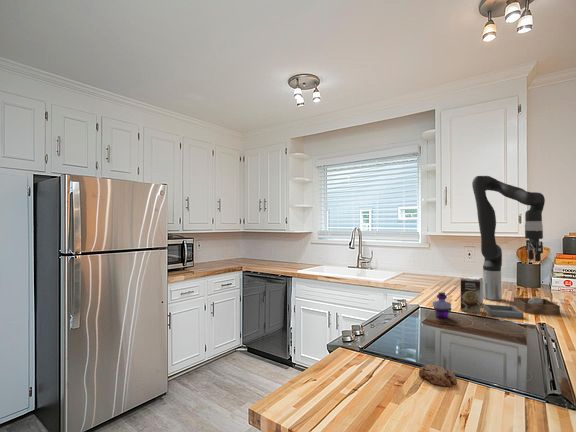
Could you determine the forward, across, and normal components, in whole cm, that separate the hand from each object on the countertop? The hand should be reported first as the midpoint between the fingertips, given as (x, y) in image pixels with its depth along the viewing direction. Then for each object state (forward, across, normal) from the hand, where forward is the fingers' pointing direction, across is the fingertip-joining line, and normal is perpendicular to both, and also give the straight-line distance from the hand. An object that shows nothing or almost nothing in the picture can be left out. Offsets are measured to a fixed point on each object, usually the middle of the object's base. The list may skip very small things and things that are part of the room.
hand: (534, 260), depth 170 cm
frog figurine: (+26, 0, 0) cm, 26 cm away
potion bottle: (+26, +28, -49) cm, 62 cm away
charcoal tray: (+26, +13, -19) cm, 35 cm away
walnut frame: (+26, 0, 0) cm, 26 cm away
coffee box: (+26, +11, -33) cm, 44 cm away
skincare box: (+26, -6, -27) cm, 38 cm away
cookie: (+27, +96, -60) cm, 116 cm away
